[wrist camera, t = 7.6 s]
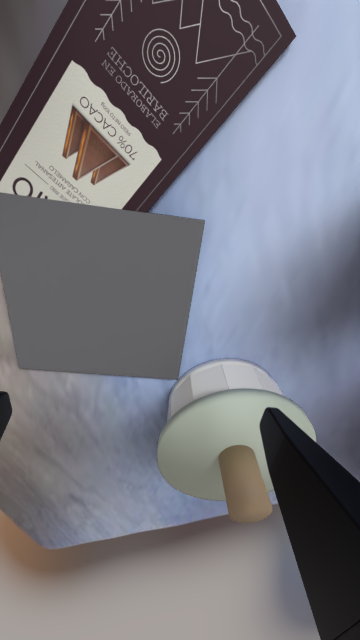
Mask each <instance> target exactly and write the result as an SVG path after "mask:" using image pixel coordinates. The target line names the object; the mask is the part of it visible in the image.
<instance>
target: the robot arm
mask: <svg viewBox="0 0 360 640" xmlns="http://www.w3.org/2000/svg"><path fill="white" fill-rule="evenodd" d="M11 414H12V407H11V402H10V398H9V394H8V393H7V392H4V391H0V440H1V438H2V435H3V433H4V431H5V429H6V426H7V424H8V422H9V420H10V417H11ZM260 433H261V438H262V443H263V447H264V452H265V457H266V462H267V467H268V471H269V474H270V478H271V481H272V484H273V488H274V491H275V494H276V497H277V500H278V504H279V506H280V510H281V513H282V516H283V520H284V523H285V526H286V529H287V533H288V536H289V539H290V542H291V545H292V549H293V552H294V555H295V558H296V561H297V565H298V568H299V571H300V574H301V578H302V581H303V584H304V587H305V590H306V593H307V597H308V600H309V603H310V606H311V610H312V613H313V616H314V619H315V622H316V625H317V629H318V632H319V635H320V638H321V640H360V482H359V481H358V480H357V479H356V478H355V477H353V476H352V475H351V474H350V473H349V472H348V471H347V470H346V469H345V468H344V467H342V466H341V465H340V464H339V463H338V462H337V461H336V460H335V459H334V458H333V457H331V456H330V455H329V454H328V453H327V452H326V451H325V450H324V449H323V448H322V447H320V446H319V445H318V444H317V443H316V442H315V441H314V440H313V439H312V438H311V437H309V436H308V435H307V434H306V433H305V432H304V431H303V430H302V429H301V428H299V427H298V426H297V425H296V424H295V423H294V422H293V421H292V420H291V419H290V418H288V417H287V416H286V415H285V414H284V413H283V412H282V411H281V410H280V409H278V408H275V407H267V408H265V410H264V413H263V415H262V418H261V421H260Z"/></svg>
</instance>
